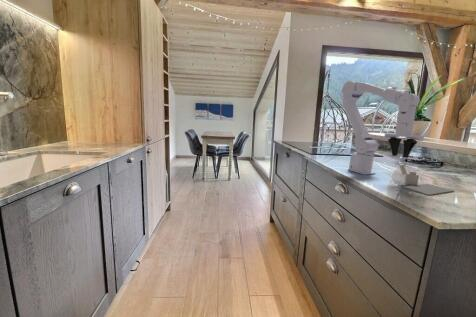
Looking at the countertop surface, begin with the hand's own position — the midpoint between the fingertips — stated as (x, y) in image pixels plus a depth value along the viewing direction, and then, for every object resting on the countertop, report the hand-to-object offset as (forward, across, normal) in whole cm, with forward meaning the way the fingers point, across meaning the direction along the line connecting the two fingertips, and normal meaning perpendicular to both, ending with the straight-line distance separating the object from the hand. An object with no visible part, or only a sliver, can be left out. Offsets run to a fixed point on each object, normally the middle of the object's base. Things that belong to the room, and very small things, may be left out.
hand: (399, 156), depth 100 cm
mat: (+11, -12, 0) cm, 16 cm away
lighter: (+11, -4, 0) cm, 11 cm away
